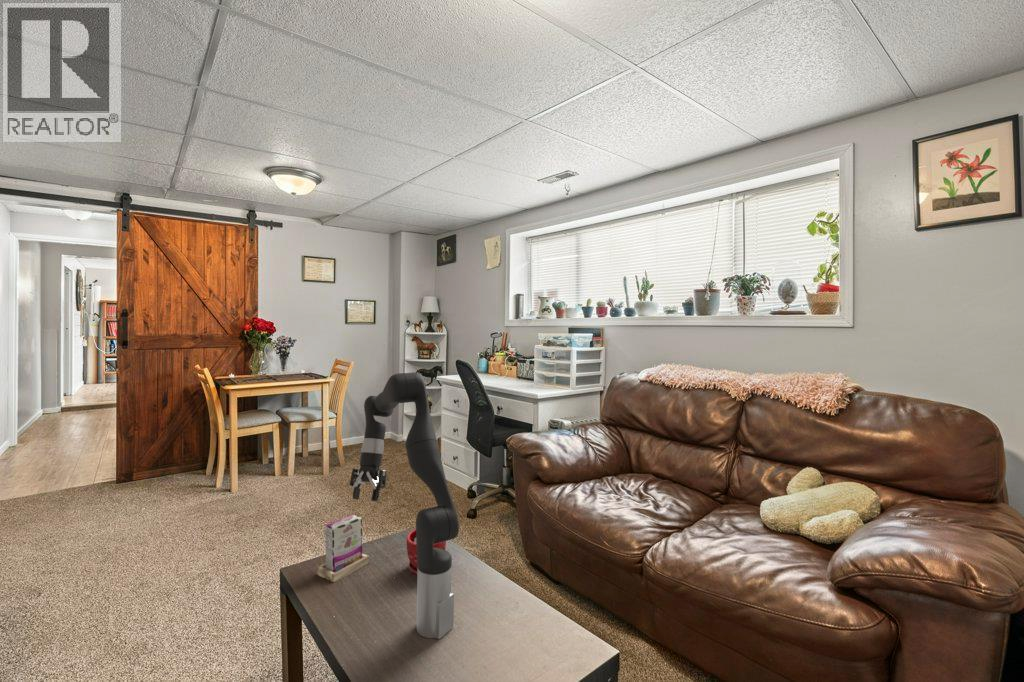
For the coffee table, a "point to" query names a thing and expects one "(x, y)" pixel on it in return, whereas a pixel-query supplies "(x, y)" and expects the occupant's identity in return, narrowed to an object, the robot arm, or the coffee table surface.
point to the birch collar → (344, 571)
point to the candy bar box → (343, 542)
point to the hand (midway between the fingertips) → (364, 500)
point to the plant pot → (413, 550)
